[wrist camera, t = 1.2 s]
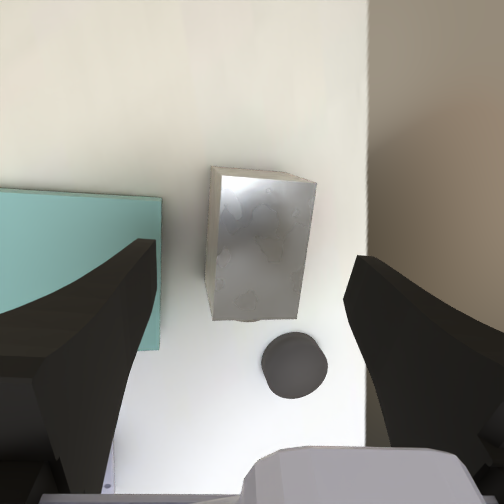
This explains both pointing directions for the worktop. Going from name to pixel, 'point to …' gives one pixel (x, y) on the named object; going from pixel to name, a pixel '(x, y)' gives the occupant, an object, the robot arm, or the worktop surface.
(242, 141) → the worktop surface
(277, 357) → the dark gray disc
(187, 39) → the worktop surface
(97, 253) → the stand
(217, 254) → the block
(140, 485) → the worktop surface
